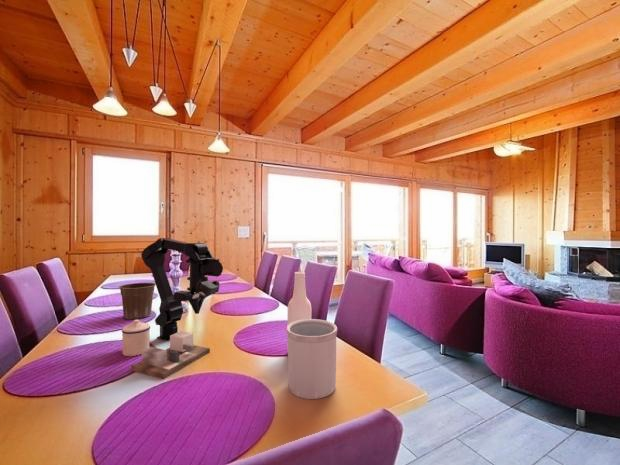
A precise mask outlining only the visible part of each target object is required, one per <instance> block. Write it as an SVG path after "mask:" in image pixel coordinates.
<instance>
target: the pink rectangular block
mask: <svg viewBox="0 0 620 465" xmlns="http://www.w3.org/2000/svg"><path fill="white" fill-rule="evenodd" d="M194 345H195V344H194V332H187V331H183V330H180V331H178V332H177V333H175V334H173V335H170V340H169V348H170V349H171V350H176V351H180V352H184V351H186V350H189V351H193V350H194Z"/></svg>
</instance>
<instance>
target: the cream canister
mask: <svg viewBox="0 0 620 465" xmlns="http://www.w3.org/2000/svg"><path fill="white" fill-rule="evenodd" d="M150 329H151V325H150V324H149V323H146V322H142V321H140V319H133V322H131V323H130V324H128V325H126V326H124V327H123V328H122V330H121V333H122V335H121V336H122V355H123V356H126V357H135V356H136V355H137V356H140V354H141V355H142V351H143V350H145V349H148V348H150V347H151V346H150V344H151V342H150V339H151V337H150V336H151V335H150V331H151V330H150Z"/></svg>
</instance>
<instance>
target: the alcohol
mask: <svg viewBox="0 0 620 465" xmlns="http://www.w3.org/2000/svg"><path fill="white" fill-rule="evenodd" d="M293 282H294V284H293V293H292V294H293V295H292V297H291V298H290V300H289V302H288V304H287V322H286V323H287V326H288V325H289V324H290V323H292V322H295V321H298V320H305V319H312V311H313V310H312V304H311V301H310V300H309V298H308V297H307V288H306V272H304V271H295V272H294V281H293ZM287 326H286V327H287ZM286 335H287V334H286ZM286 343H287V345H286V346H287V347H286V348H287V349H286V352H287V353H288V335H287V341H286Z"/></svg>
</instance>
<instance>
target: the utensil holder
mask: <svg viewBox="0 0 620 465" xmlns="http://www.w3.org/2000/svg"><path fill="white" fill-rule="evenodd" d="M286 335H288V352H287V370H288V371H287V372H288V374H287V375H288V388H289V391H290V392H291V393H292V394H293V395H295V396H296V397H299V398H302V399H306V400H317V399H323V398H325V397H328V396H330V395H331V394H333V392H334V391H335V389H336V382H337V381H336V380H337V379H336V377H337V376H336V375H337V335H338V327H337V325H336V324H335V323H333V322H331V321H328V320H324V319H319V318H318V319H315V318H311V319H305V320H298V321H295V322H292V323H290V324H289V325H288V326H286Z"/></svg>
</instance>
